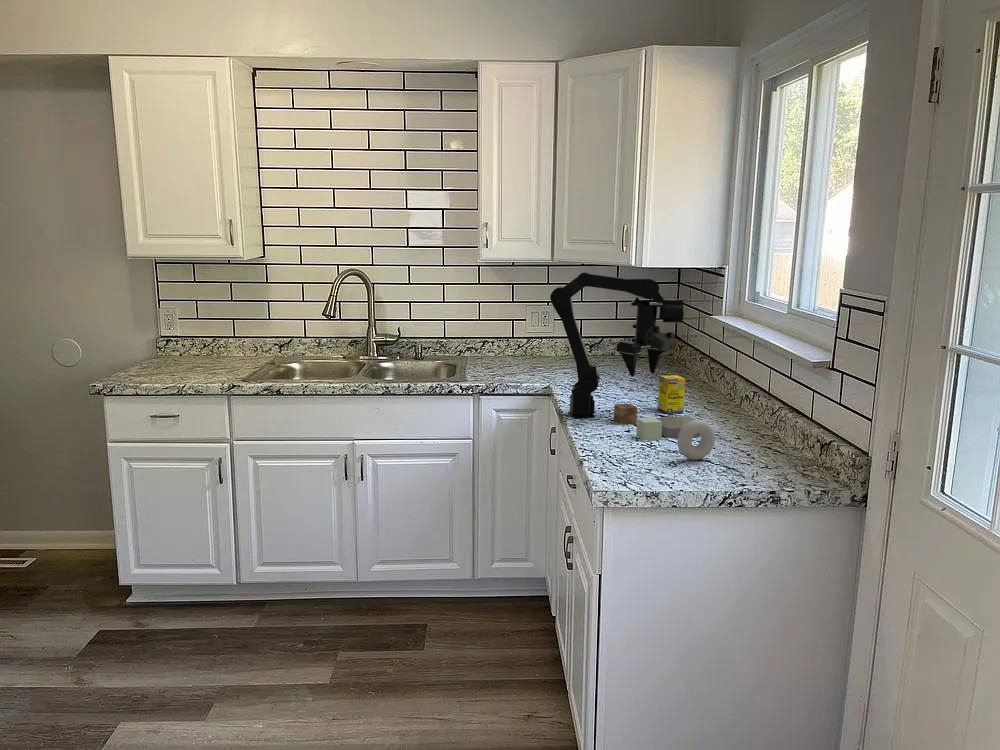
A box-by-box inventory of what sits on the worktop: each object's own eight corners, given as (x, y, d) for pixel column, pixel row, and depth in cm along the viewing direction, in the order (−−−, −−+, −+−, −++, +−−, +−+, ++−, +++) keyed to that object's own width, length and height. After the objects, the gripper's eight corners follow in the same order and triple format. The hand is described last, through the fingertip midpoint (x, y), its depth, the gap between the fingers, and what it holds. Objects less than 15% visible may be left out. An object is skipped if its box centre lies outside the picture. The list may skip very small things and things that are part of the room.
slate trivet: (667, 437, 205) (668, 428, 204) (649, 426, 216) (649, 418, 216) (708, 435, 207) (709, 426, 207) (688, 424, 219) (689, 416, 218)
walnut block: (620, 425, 218) (620, 408, 217) (613, 421, 223) (614, 404, 222) (636, 424, 219) (637, 407, 218) (629, 420, 224) (630, 403, 223)
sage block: (643, 441, 202) (644, 422, 201) (636, 436, 207) (637, 418, 206) (661, 440, 203) (662, 421, 202) (653, 435, 208) (654, 417, 207)
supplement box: (666, 414, 231) (668, 379, 229) (657, 410, 237) (658, 375, 235) (683, 413, 233) (685, 378, 231) (674, 409, 238) (676, 374, 236)
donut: (708, 455, 189) (710, 416, 187) (716, 459, 185) (719, 419, 183) (673, 459, 185) (675, 419, 183) (681, 463, 182) (683, 423, 180)
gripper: (647, 326, 209) (643, 382, 212) (688, 323, 221) (684, 376, 224) (616, 322, 217) (613, 376, 220) (657, 318, 229) (654, 370, 232)
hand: (642, 374), depth 224 cm, fingers open, 9 cm apart
